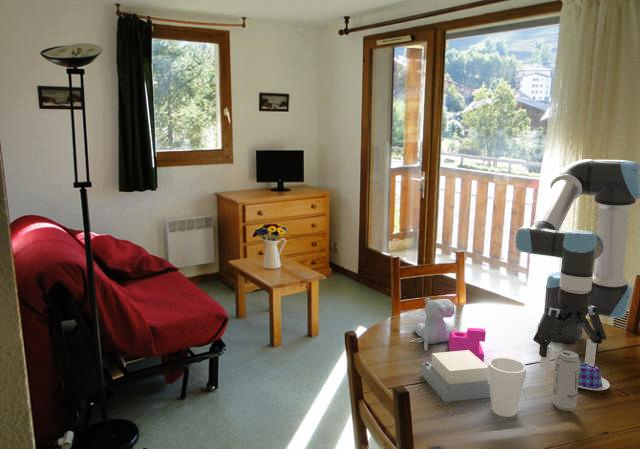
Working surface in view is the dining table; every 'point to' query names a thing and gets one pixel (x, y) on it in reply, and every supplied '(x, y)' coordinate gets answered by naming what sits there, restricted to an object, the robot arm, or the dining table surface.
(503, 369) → the foam cup
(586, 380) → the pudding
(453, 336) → the bracket
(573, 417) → the dining table surface
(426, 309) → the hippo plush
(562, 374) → the energy drink can
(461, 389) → the cream and grey box
